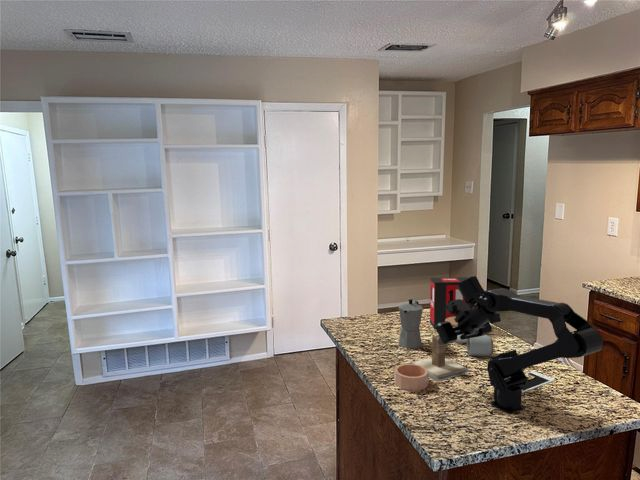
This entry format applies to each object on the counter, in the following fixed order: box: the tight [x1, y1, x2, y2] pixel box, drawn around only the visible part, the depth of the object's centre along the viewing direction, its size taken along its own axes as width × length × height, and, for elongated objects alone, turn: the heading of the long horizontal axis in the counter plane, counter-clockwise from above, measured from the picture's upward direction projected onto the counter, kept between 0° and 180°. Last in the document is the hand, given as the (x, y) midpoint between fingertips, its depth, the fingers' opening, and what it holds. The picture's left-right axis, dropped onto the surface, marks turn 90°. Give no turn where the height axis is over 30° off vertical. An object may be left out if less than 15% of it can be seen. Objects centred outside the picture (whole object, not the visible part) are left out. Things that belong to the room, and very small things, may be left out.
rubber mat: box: [409, 362, 472, 382], centre depth 149 cm, size 15×15×1 cm
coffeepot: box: [398, 298, 424, 349], centre depth 170 cm, size 15×9×18 cm, turn 150°
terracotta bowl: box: [393, 363, 429, 392], centre depth 138 cm, size 10×10×4 cm
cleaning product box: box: [429, 276, 476, 330], centre depth 191 cm, size 16×9×20 cm, turn 88°
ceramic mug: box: [466, 334, 494, 357], centre depth 161 cm, size 11×8×8 cm
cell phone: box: [520, 370, 556, 394], centre depth 139 cm, size 8×16×1 cm, turn 119°
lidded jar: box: [445, 317, 467, 344], centre depth 175 cm, size 11×11×9 cm
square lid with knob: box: [411, 334, 466, 379], centre depth 148 cm, size 12×12×10 cm
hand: (450, 340), depth 143 cm, fingers open, 9 cm apart
